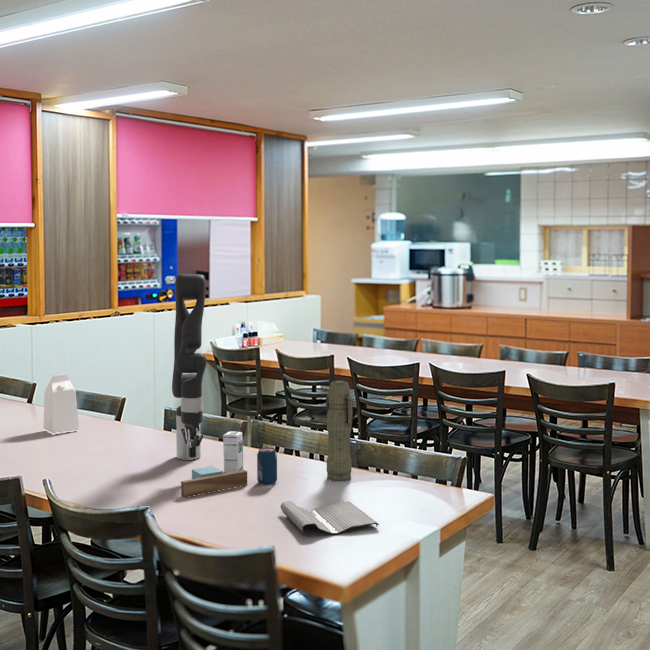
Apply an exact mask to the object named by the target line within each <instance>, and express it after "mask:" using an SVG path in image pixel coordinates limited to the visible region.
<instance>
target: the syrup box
mask: <svg viewBox="0 0 650 650" xmlns="http://www.w3.org/2000/svg"><path fill="white" fill-rule="evenodd" d="M222 438H223V439H222V441H223V473H229V472H234V471H239V470H244V450H243V449H244V446H243V443H244V441H243V439H244V438H243V432H242V431H234V430H233V431H227V432H226V433H224V434H223V435H222Z"/></svg>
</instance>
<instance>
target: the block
mask: <svg viewBox="0 0 650 650" xmlns="http://www.w3.org/2000/svg"><path fill="white" fill-rule="evenodd" d="M223 473H224V470H221V469H220V468H218V467H216V466H214V465H212V466H205V467H198V468H192V469H191V479H196V478H202V477H207V476H212V475H218V474H223Z"/></svg>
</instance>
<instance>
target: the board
mask: <svg viewBox="0 0 650 650" xmlns="http://www.w3.org/2000/svg"><path fill="white" fill-rule="evenodd" d="M245 485H246V486H248V471H247V470H245V469H243V470H239V471H234V472H229V473H224V472H223V474H218V475H212V476H207V477H202V478H196V479H192V478H191V479H186V480H182V481H180V490H181V492H180V493H181V494H180V495H181V497H182V496H183V497H182V498H184V497H186V498H189V497H188V496H191V497H194V496H193V495H196V496H199V495H198V494H201V495H203V494H202V493H206V494H209V493H208V492H211V493H214V492H213V491H216V492H219V491H218V490H221V491H224V490H223V489H226V490H229V489H228V488H231V489H235V488H234V487H236V488H241V487H246V486H245ZM240 486H241V487H240Z"/></svg>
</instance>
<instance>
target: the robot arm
mask: <svg viewBox="0 0 650 650" xmlns="http://www.w3.org/2000/svg"><path fill="white" fill-rule="evenodd" d="M206 281H207V280H206V278H205V276H204V274H198V273H196V274H194V273H179V274H177V275H176V277H175V285H174V291H175V292H174V293H175V294H174V295H175V297H174V298H175V318H174V319H175V322H174V335H173V336H174V343H173V344H174V345H173V346H174V347H173V349H174V351H173V353H174V357H173V372H172V379H171V380H172V382H171V392H172V395H173V397H174V398H176V399H181V400H180V406H177V408H176V410H175V414H176V416H175V418H176V436H175V439H176V459H177V460H180V459H181V460H180V461H193V459H195V460H197V458H198V459H200V458H201V456H202V455H201V447H202V445H201V443H202V441H203V438H204V434H203V433H201V423H203V417H204V416H203V415H204V413H203V410H204V409H203V407H204V406H203V404H204V403H203V394H202V393H203V392H202V389H203V388H202V387H203V385H202V384H203V378H204V374H205V371H206V368H207V364H208V361H207V357H206V355H205V354H204V353H202V352H197V350H199V349H200V348H201V346H202V341H203V339H202V335H203V333H202V332H203V330H202V327H203V325H202V324H203V318H204V311H205V310H204V309H205V303H206V291H207V283H206ZM185 300H196V301H195V304H194V306H193V307H192V308H193V309H191V311H190V312H189V310H188V308H187V305H186V303H185Z"/></svg>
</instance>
